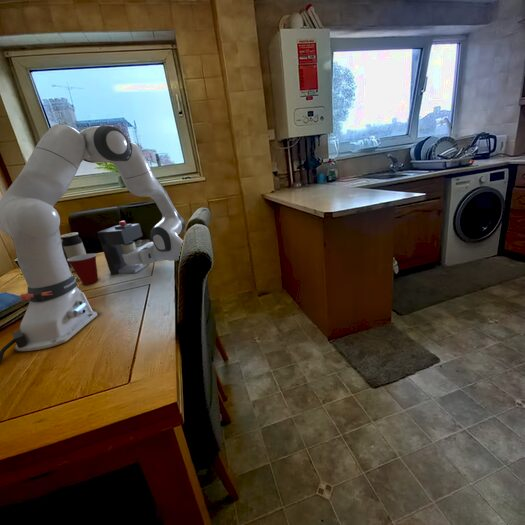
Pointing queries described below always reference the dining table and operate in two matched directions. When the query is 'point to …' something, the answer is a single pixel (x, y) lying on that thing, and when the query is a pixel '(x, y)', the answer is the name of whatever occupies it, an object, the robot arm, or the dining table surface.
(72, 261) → the plastic cup
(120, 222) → the brew button
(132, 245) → the creamer cup
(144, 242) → the beverage carton
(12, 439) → the dining table surface
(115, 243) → the coffee maker
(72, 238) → the travel mug
